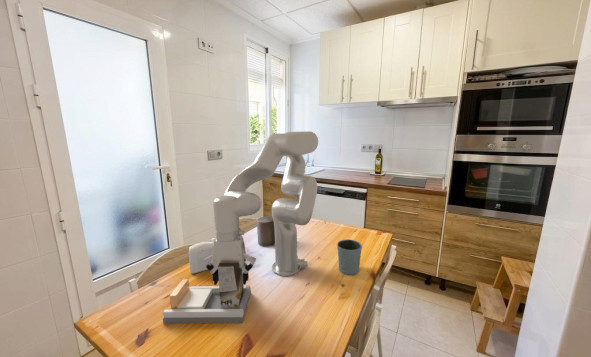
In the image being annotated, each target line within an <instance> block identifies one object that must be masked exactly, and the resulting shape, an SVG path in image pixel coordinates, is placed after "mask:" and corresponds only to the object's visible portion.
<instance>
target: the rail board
mask: <svg viewBox="0 0 591 357" xmlns="http://www.w3.org/2000/svg"><path fill="white" fill-rule="evenodd" d="M189 289H212V295H211V297H210V299H209V301H208V303H207V304H206V306H205V308H204V309H171V308H170V309H164V311H162V314H163V316H162V317H163V318H162V323H163V324H213V323H214V324H215V323H216V324H218V323H220V324H221V323H222V324H224V323H225V324H227V323H229V324H230V323H231V324H233V323H234V324H235V323H239V324H240V323H243V322H244V320H245V316H246V312H247V309H248V305H249V302H250V298H251V295H252V289H251V285H249V284H248V285H244V294H243V297H242V300H241V303H240V306H239V307H240V309H220V293H219V285H214V286H213V285H212V286H210V285H208V286H207V285H206V286H205V285H204V286H201V285H200V286H195V285H194V286H190V285H189Z"/></svg>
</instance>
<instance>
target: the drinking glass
mask: <svg viewBox="0 0 591 357" xmlns="http://www.w3.org/2000/svg"><path fill="white" fill-rule="evenodd" d="M336 246H337V257H338V270H339V272H340V273H341V274H342V275H344V276H350V277H351V276H356V275H358V274H359V273H360V265H361V257H362V256H361V253H362V248H363V245H362V244H361V242H360V241H357V240H354V239H342V240H339V241H337V244H336Z"/></svg>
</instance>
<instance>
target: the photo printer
mask: <svg viewBox="0 0 591 357" xmlns="http://www.w3.org/2000/svg"><path fill="white" fill-rule="evenodd" d="M213 244H214V243H213V242H211V241H202V242H198V243H195V244H193V245H191V246H189V247H188V260H189V263H188V264H189V272H190V273H191V275H192V274H193V275H194V274H196V273H200V272H204V271H207V270H208V269H207V268H206V266H205V264H204V263H203V260H204V259H205V258H207V257H209V256H211V255H213ZM209 262H210V263H211V264H212V265H213V260H211V261H209ZM208 271H209V270H208Z"/></svg>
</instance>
